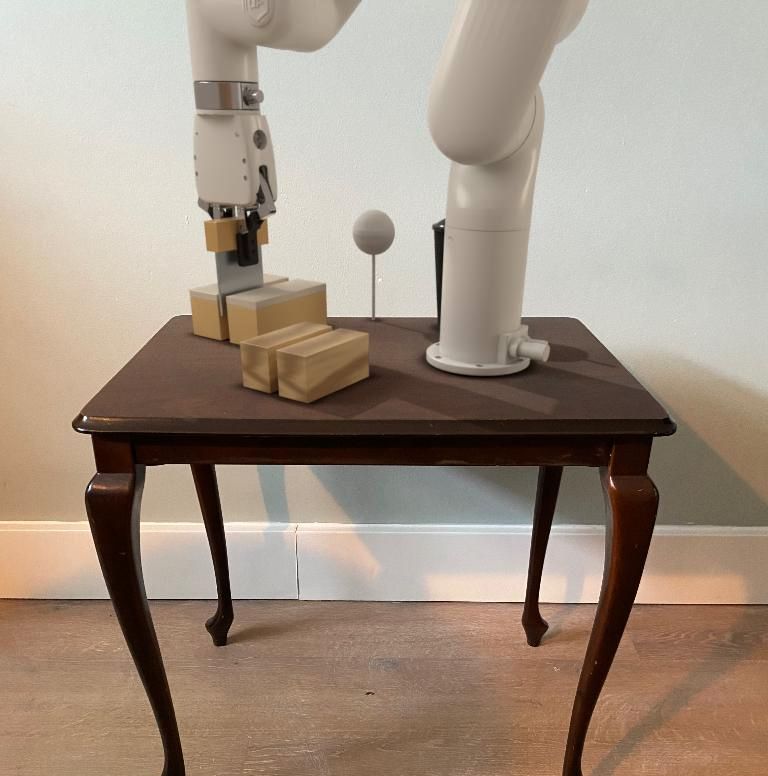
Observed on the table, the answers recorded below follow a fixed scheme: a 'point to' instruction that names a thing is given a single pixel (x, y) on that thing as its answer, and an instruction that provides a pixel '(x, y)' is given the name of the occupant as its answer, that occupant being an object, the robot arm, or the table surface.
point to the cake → (258, 308)
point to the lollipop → (373, 238)
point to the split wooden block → (305, 360)
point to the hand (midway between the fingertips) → (240, 262)
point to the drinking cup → (439, 262)
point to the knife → (233, 258)
